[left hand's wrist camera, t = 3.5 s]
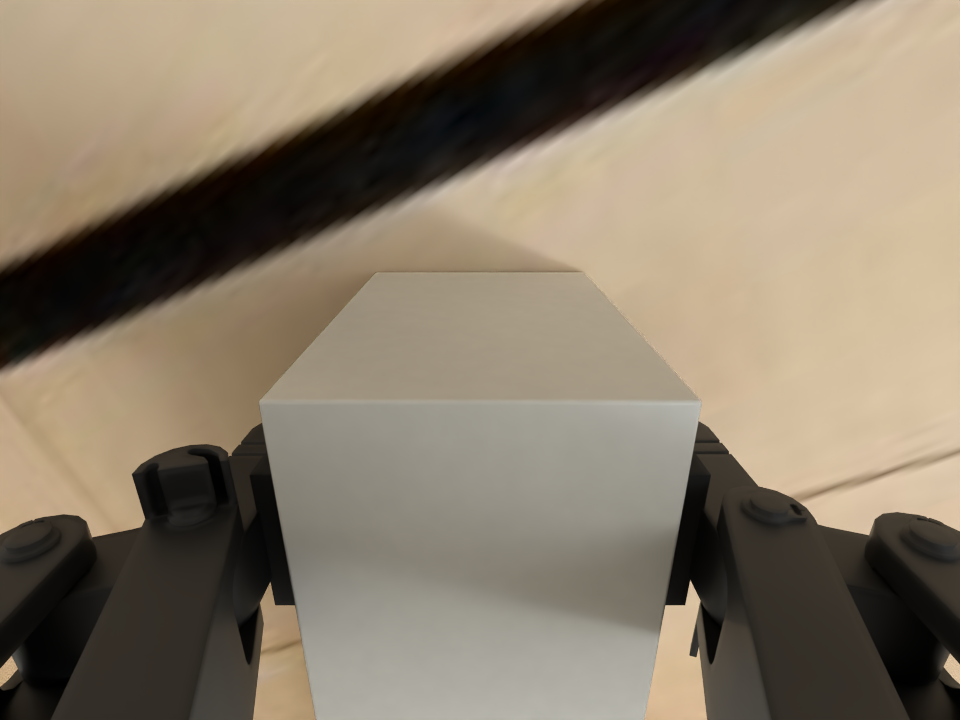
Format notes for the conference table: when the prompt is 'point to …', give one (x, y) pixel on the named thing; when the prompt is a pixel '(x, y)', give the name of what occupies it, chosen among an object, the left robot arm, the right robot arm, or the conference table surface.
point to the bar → (480, 499)
